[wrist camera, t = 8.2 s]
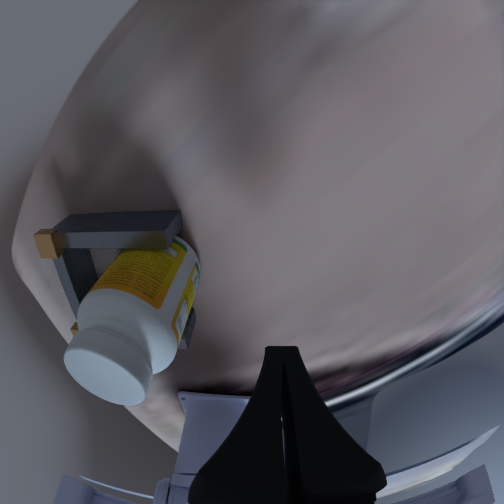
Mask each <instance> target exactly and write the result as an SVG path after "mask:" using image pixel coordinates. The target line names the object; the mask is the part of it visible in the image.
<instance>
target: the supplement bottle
mask: <svg viewBox="0 0 504 504" xmlns="http://www.w3.org/2000/svg"><path fill="white" fill-rule="evenodd" d="M200 277H201V267H200V263H199V260H198V257H197V255H196V254H195V252H194V250H193V249H192V248H191V247H190V246H189V245H188V244H187V243H186V242H185V241H184V240H182V239H181V238H179V237H177V236H176V237H175V238H174V240H173V241H172V243H171V244H170V246H169V248H168V249H123V250H122V251H121V253H120V254H119V255H118V256H117V257H116V259H115V260H114V261H113V262H112V263H111V265H110V266H109V267H108V268H107V270H106V271H105V272H104V273H103V275H102V276H101V277H100V278H99V279H98V281H97V282H96V283H95V285H94V286H93V287H92V289H91V290H90V291H89V292H88V294H87V295H86V296H85V297H84V299H83V300H82V302H81V304H80V306H79V309H78V313H77V325H78V330H79V332H77V333H76V334H75V335H74V336H73V339H72V341H71V342H70V344H69V346H68V347H67V349H66V352H65V354H64V363H65V365H66V368H67V370H68V371H69V372H70V374H71V375H72V377H73V378H74V379H75V380H76V381H77V382H78V383H79V384H80V385H81V386H83V387H84V388H85V389H87V390H88V391H90V392H91V393H93V394H95V395H96V396H98V397H100V398H102V399H105V400H107V401H110V402H112V403H116V404H121V405H137V404H139V403H141V402H142V401H143V400H144V399H145V397H146V395H147V392H148V389H149V386H150V384H151V382H152V379H153V374H156V373H159V372H161V371H163V370H164V369H165V368H167V367H168V366H169V365H170V364H171V362H172V361H173V359H174V357H175V355H176V352H177V349H178V346H179V343H180V340H181V337H182V334H183V331H184V328H185V324H186V321H187V318H188V315H189V313H190V309H191V306H192V303H193V301H194V297H195V295H196V292H197V289H198V285H199V282H200Z"/></svg>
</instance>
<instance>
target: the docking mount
mask: <svg viewBox="0 0 504 504" xmlns="http://www.w3.org/2000/svg"><path fill="white" fill-rule="evenodd" d="M181 227H182V218H181V210H172V211H139V212H116V213H96V214H80V215H70V216H68V217H67V218H65V219H64V220H63V221H61V222H60V223H58V224H57V225H56V226H54V227H53V228H52V229H41V230H39V231H38V232H37V233H35V234H34V238H35V241H36V244H37V248H38V251H39V254H40V257H41V258H53V260H54V263H55V266H56V269H57V272H58V275H59V278H60V280H61V283H62V286H63V288H64V291H65V293H66V296H67V298H68V301H69V303H70V306H71V308H72V310H73V313H74V315H75V317H76V319H77V313H78V309H79V306H80V304H81V302H82V300H83V299H84V297H85V296H86V295H87V294H88V292H89V291H90V290H91V289H92V287H93V286H94V285H95V283H96V282H97V281H98V279H97V275H96V272H95V269H94V266H93V262H92V259H91V255H90V252H89V248H121V249H168V248H169V246H170V244H171V243H172V241H173V240H174V238H175V237H176V235H177V233H178V232H179V230H180V229H181ZM195 321H196V318H195V312H194V310H190V313H189V315H188V318H187V321H186V324H185V328H184V331H183V334H182V337H181V340H180V343H179V346H178V349H188V346H189V342H190V339H191V335H192V332H193V328H194V325H195ZM70 330H71V332H72V334H73V336H74V335H75V334H76V333H77V332H79V330H78V325H77V322H75V323H74V325H73V326H72V327H71V329H70Z"/></svg>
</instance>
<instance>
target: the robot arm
mask: <svg viewBox="0 0 504 504" xmlns="http://www.w3.org/2000/svg"><path fill="white" fill-rule="evenodd" d="M178 397H179V400H180V402H181V405H182V407H183V410H184V412H185V415H186V418H185V423H184V428H183V432H182V437H181V442H180V447H179V452H178V458H177V462H176V467H175V473H173V477H172V483H170V479H166V478H165V479H163V480H162V481H159V482H158V484H157V487H156V491H155V494H154V499H153V504H374V501H376V493H377V492H378V491H380V490H382V489H383V488H384V487H385V486H386V485H387V480H386V476H385V473H384V470H383V468H382V466H381V464H380V463H379V462H378V461H376V460H375V459H374V458H373V457H372V456H370V455H369V454H368V453H367V452H366V451H365V450H364V449H363V448H362V447H361V446H360V445H359V444H358V443H356V441H355V440H354V439H353V438H352V437H351V436H350V435H349V434H348V433H347V432H346V431H345V429H344V428H343V427H342V426H341V425H340V423H339V422H338V421H337V420H336V418H335V417H334V416H333V414H332V413H331V412H330V410H329V409H328V407H327V406H326V404H325V403H324V401H323V399H322V398H321V396H320V395H319V393H318V391H317V389H316V388H315V386H314V384H313V382H312V380H311V378H310V376H309V374H308V372H307V370H306V368H305V365H304V363H303V360H302V358H301V355H300V352H299V349H298V347H297V346H267V347H266V348H265V356H264V361H263V365H262V368H261V372H260V375H259V377H258V380H257V383H256V386H255V388H254V390H253V392H252V395H251V396H235V395H218V394H206V393H195V392H186V391H180V392H179V393H178ZM281 413H282V422H283V431H284V442H285V468H284V454H283V439H282V422H281ZM494 502H495V499H494V495H493V491H492V487H491V484H490V480H489V477H488V473H487V470H486V467H485V465H482V466H480V467H478V468H476V469H474V470H472V471H470V472H468V473H466V474H465V475H463V476H461V477H460V478H458V479H457V480H456V481H453V482H451V483H449V484H447V485H444V486H442V487H439V488H437V489H434V490H432V491H429V492H427V493H424V494H421V495H418V496H415V497H412V498H409V499H406V500H403V501H400V502H396V503H393V504H493V503H494ZM53 504H138V503H134V502H131V501H127V500H124V499H121V498H118V497H115V496H112V495H109V494H106V493H103V492H101V491H98V490H96V489H94V488H93V487H91V486H89V485H88V484H86V483H83V482H81V481H79V480H77V479H74V478H72V477H70V476H68V475H66V474H62V477H61V480H60V483H59V486H58V489H57V492H56V495H55V498H54V501H53Z"/></svg>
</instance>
